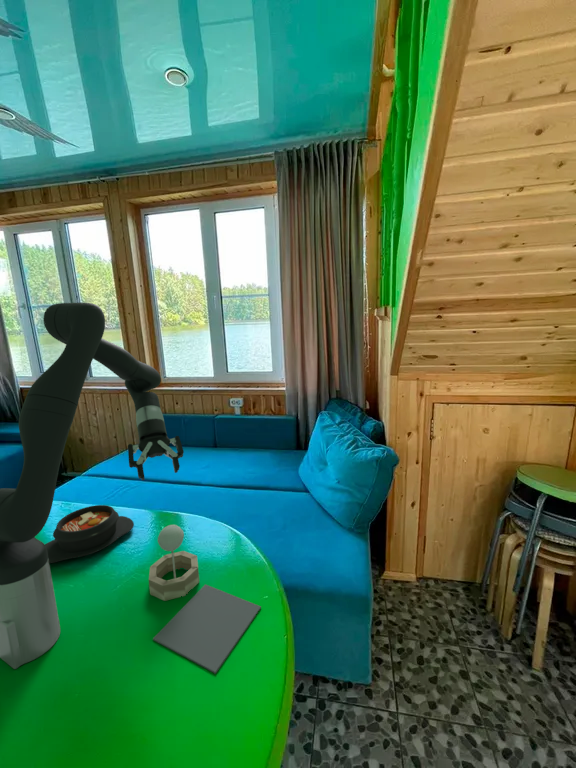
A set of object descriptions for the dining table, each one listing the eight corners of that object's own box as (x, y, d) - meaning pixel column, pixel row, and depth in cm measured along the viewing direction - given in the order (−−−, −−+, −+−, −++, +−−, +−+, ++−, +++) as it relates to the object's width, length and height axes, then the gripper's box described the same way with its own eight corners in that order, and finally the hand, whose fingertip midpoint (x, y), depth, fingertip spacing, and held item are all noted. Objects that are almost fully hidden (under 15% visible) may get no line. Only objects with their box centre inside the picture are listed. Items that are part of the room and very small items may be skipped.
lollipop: (171, 594, 79) (165, 537, 77) (157, 583, 83) (151, 528, 81) (192, 578, 84) (187, 524, 82) (179, 569, 88) (173, 517, 85)
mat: (215, 673, 61) (215, 672, 60) (153, 640, 68) (153, 638, 68) (261, 608, 75) (260, 606, 75) (205, 585, 82) (205, 584, 82)
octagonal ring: (175, 606, 76) (173, 590, 75) (140, 590, 81) (138, 575, 80) (208, 573, 86) (207, 559, 85) (175, 560, 91) (174, 547, 91)
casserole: (44, 581, 85) (39, 551, 84) (34, 548, 99) (30, 522, 97) (143, 537, 102) (140, 512, 101) (123, 514, 116) (120, 492, 114)
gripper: (123, 421, 92) (130, 476, 84) (176, 414, 99) (188, 463, 90) (124, 435, 97) (131, 487, 89) (175, 426, 104) (185, 474, 96)
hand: (160, 475), depth 90 cm, fingers open, 8 cm apart
